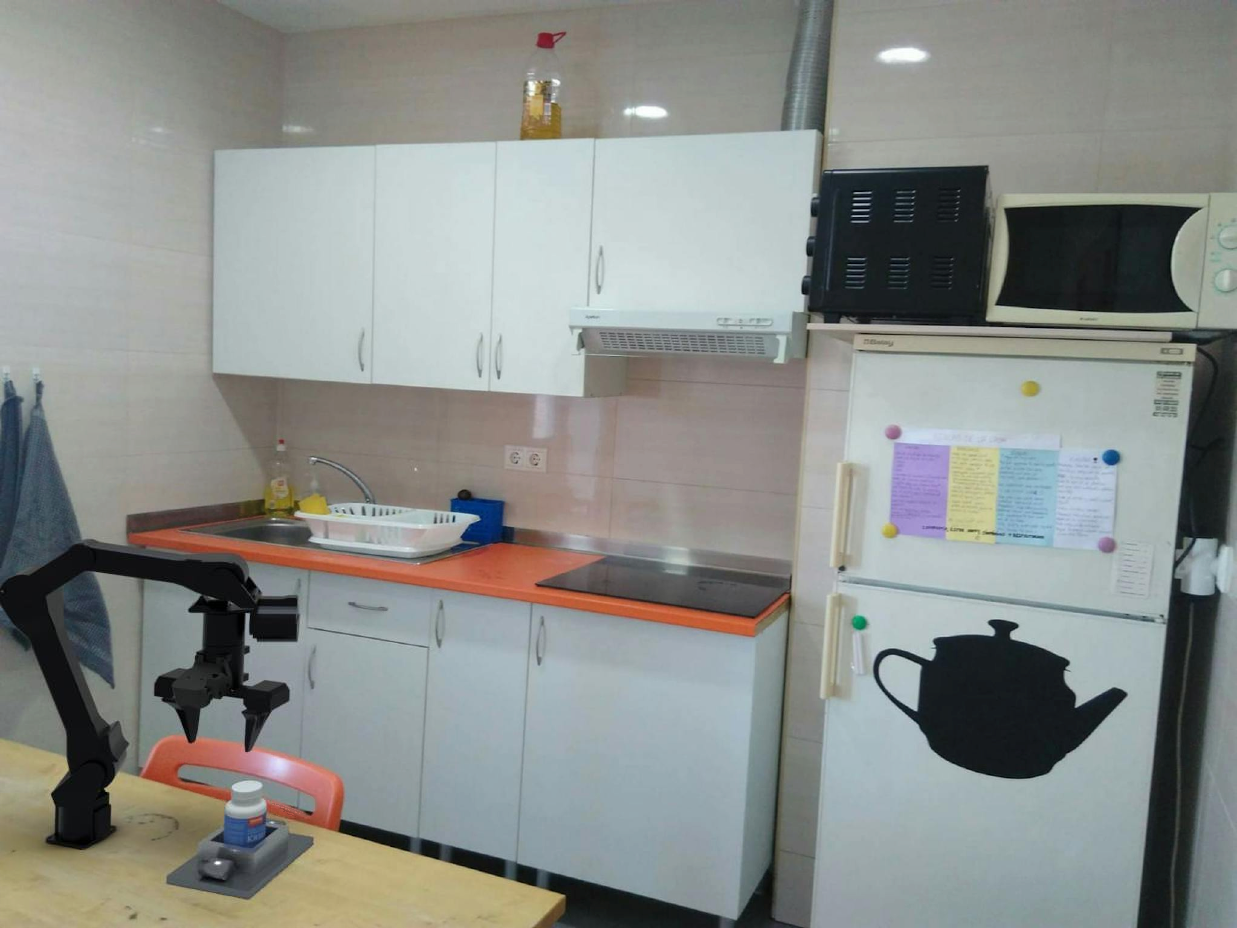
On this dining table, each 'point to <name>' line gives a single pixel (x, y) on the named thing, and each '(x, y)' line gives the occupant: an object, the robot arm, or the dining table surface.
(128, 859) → the dining table surface
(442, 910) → the dining table surface
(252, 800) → the pill bottle
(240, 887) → the base
